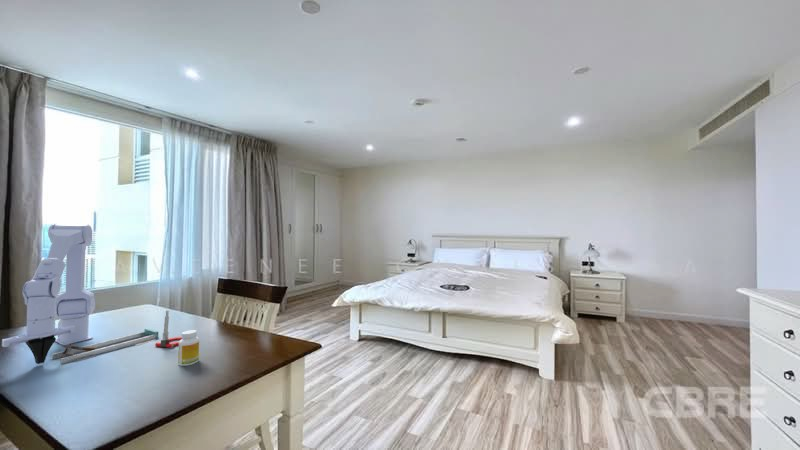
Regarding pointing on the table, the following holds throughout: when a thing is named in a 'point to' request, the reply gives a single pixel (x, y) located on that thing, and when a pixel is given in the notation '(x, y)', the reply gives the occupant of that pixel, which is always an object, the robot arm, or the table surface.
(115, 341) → the guide rail
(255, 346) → the table surface
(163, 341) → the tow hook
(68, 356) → the wooden post with brackets
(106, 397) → the table surface
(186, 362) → the supplement bottle
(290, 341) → the table surface
